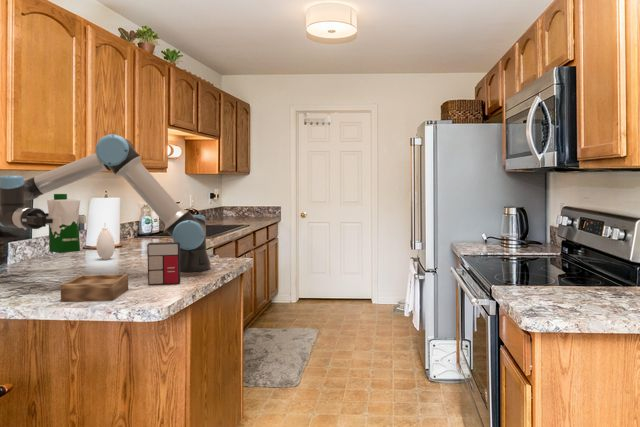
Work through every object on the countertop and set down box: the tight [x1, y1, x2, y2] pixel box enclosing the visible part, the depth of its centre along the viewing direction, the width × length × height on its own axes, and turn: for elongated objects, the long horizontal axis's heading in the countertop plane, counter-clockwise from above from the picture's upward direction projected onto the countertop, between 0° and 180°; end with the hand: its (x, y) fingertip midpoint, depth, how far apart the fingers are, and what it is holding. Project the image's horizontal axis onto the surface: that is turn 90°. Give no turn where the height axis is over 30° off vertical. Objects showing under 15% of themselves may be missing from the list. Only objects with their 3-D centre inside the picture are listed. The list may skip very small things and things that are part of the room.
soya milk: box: [46, 193, 81, 254], centre depth 161 cm, size 9×9×20 cm
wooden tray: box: [60, 274, 129, 302], centre depth 151 cm, size 16×16×5 cm
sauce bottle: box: [96, 223, 116, 261], centre depth 224 cm, size 8×8×18 cm
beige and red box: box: [146, 241, 181, 286], centre depth 169 cm, size 11×4×15 cm, turn 101°
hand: (73, 220), depth 159 cm, fingers closed on soya milk, 9 cm apart
